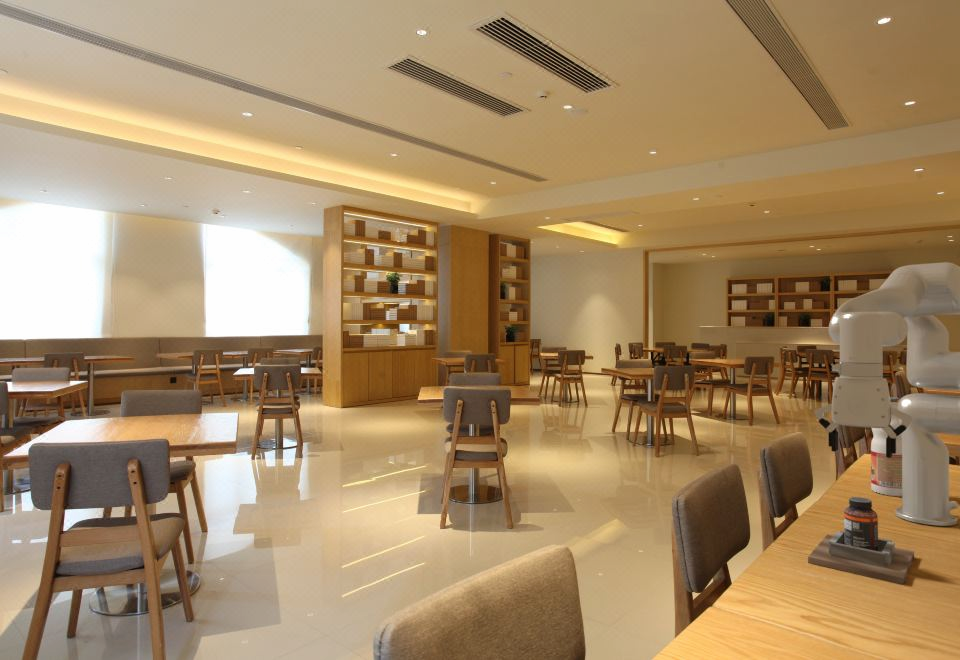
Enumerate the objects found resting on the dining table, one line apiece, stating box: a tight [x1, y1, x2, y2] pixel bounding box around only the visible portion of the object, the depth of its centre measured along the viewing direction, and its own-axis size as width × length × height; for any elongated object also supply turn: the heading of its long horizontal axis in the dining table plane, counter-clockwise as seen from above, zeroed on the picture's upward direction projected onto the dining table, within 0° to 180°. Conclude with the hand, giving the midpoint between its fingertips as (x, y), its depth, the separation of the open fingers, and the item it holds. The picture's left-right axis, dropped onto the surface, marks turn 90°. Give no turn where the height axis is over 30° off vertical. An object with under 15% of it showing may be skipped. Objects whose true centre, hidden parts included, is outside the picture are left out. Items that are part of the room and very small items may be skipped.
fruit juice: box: [870, 396, 902, 497], centre depth 174 cm, size 9×9×28 cm
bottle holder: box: [807, 530, 915, 585], centre depth 123 cm, size 18×16×4 cm
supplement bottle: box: [843, 496, 879, 551], centre depth 123 cm, size 6×6×11 cm
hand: (861, 453), depth 123 cm, fingers open, 9 cm apart
